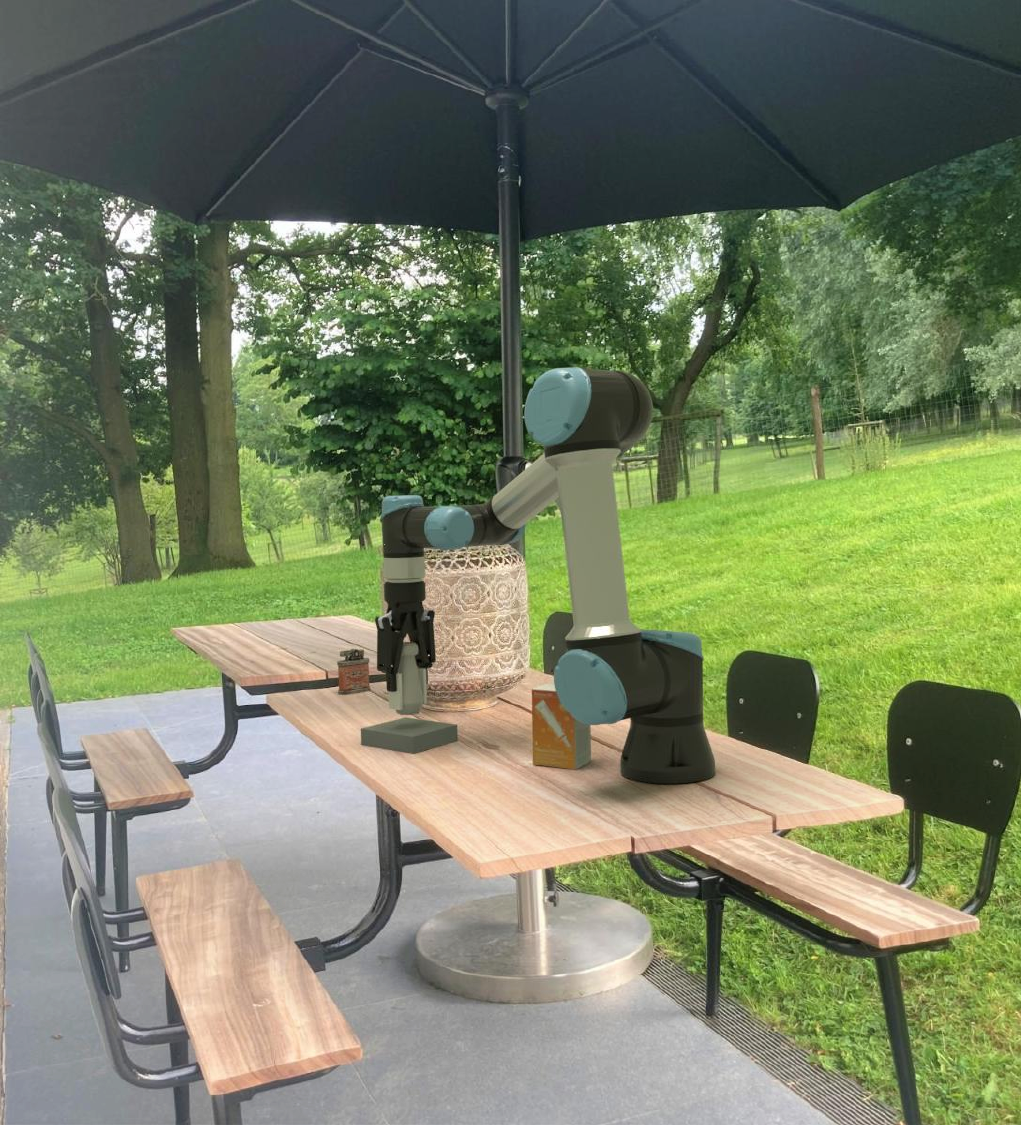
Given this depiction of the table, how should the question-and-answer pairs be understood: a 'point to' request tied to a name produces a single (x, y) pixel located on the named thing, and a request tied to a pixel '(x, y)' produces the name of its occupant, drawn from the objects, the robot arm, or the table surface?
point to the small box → (557, 732)
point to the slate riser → (409, 735)
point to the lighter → (353, 672)
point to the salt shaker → (410, 680)
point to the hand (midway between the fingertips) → (408, 705)
